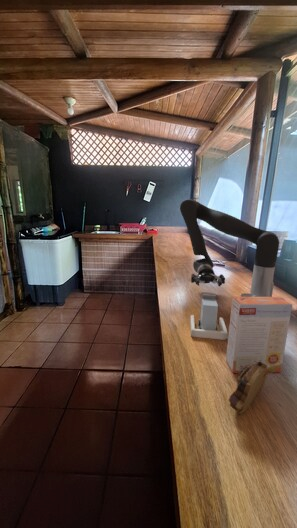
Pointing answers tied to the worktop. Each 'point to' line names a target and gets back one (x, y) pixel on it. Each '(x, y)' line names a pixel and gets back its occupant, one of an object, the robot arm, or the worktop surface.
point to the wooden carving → (248, 386)
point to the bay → (209, 331)
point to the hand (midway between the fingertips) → (209, 283)
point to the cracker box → (258, 332)
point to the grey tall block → (208, 312)
